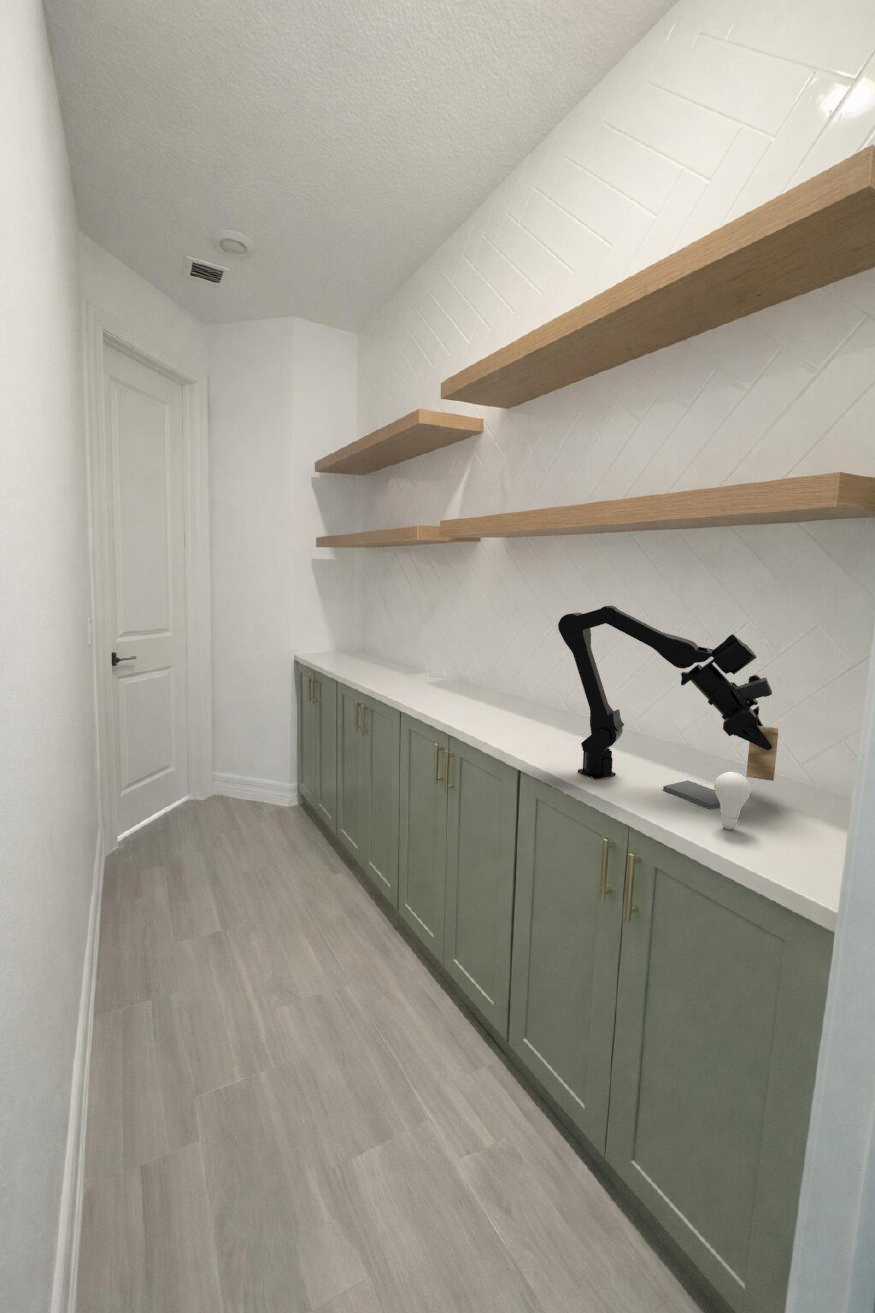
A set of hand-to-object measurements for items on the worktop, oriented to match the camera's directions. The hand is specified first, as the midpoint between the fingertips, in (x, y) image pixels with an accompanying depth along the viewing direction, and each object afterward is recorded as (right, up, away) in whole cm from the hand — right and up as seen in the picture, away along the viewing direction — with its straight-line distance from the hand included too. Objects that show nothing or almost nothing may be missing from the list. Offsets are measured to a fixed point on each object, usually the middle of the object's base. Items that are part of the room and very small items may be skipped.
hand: (770, 745), depth 124 cm
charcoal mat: (-13, -12, +5) cm, 18 cm away
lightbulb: (-14, -14, -11) cm, 23 cm away
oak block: (-1, -6, +2) cm, 7 cm away
